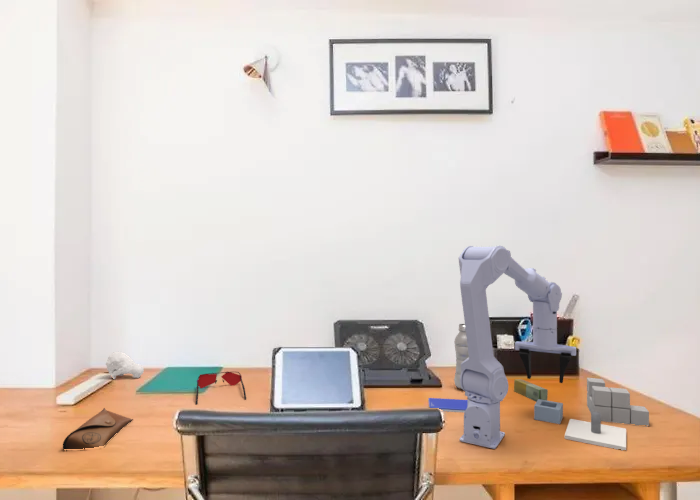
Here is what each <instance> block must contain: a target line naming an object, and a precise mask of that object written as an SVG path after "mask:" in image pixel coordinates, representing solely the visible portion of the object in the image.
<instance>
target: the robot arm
mask: <svg viewBox="0 0 700 500" xmlns="http://www.w3.org/2000/svg"><path fill="white" fill-rule="evenodd" d="M511 253H512V252H511V251H510V250H508V249H506V247H505V246H503V245H494V246H493V245H491V246H490V245H489V246H474V245H468V246H466V247H464V249H463V250H462V252H461V253H460V255H459V257H458V265H459V266H458V267H459V272H460V273H459V275H460V280H459V286H460V295H461V302H462V303H461V304H462V312H463V319H464V324H465V329H466V337H467V345H468V353H469V357H468V358H467V359H466V360H464V361H463V362H462V363H461V375H460V385H461V388H462V389H461V390H463V391H464V397H465V396H466V397H467V398H466V400H467V409H466V410H465V412H463V434H462V435H461V436H460V437H459V442H463V443H467V444H471V445H472V444H473V445H477V446H479V447H480V446H481V447H485V448H488V449H489V448H490V449H495V450H496V449H497V447H498V445H500V443H501V441H502V439H503V438H504V437H505V435H506V433H505V432H504V431H501V402H503V400H504V399H505V398H506V396H507V394H508V391H509V382H508V381H509V380H508V378H507V376H506V374H505V370H504V366H503V365H502V363H500V361H498V359H497V358H496V357H495V356H494V350H493V349H494V348H493V340H492V339H493V338H492V332H491V322H490V315H489V314H490V313H489V307H488V298H487V288H488V287H489V285H493V284H494V283H495V282H496V281H497V280H498V279H499V278H501V277H502V275H503V274H504V275H506V276H507V277H510V278H511V279H513V280H514V284H515V286H516V288H518V289H520V290H521V291H522V292H523V293H525V294H527V297H528V300H529V301H530V302H531V303H532V341H515V343H514V350H516V351H519V352H518V355H519V357H520V359H521V361H522V363H523V366H524V368H525V372H526V378H527V380H530V379H532V352H538V353H551V354H559V377H558V379H559V383H560V384H563V383H564V376H565V372H566V369H567V367H568V364H570V360H571V359H572V357H573V356H574V357H577V346H570V345H565V344H558V329H557V328H558V314H557V313H558V311H559V309H560V303H561V300H562V296H563V292H562V290H561V287H560V286H559V284H557V283H556V282H553V281H551V282H550V281H548V280H547V279H546V277H545V276H542V275H540V273H538V272H537V270H536V268H534V267H529V268H528V267H525V268H524V267H523V266H522V265H521V264H520V263H518V261H516V260H515V259H514V258H513V256H512V254H511Z"/></svg>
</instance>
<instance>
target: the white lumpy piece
mask: <svg viewBox="0 0 700 500" xmlns="http://www.w3.org/2000/svg"><path fill="white" fill-rule="evenodd" d="M105 365H106V369H107V371H108V375H109V374H110V375H112V377H113V379H114V380H116V377H117V376H118V377H122V376H124V375H128V374H131V375H132V376H131V377H132V379H139V378H140V377H141V375H143V374H144V370H145V368H144V366H143V365H141V364H139V363H136V362H135V361H134V359H132V358H131V356H129V355H127V353H125V352H122V351H115V352H112V353H111V354H110V355H109V356H108V357H107V361H106V363H105ZM110 375H109V376H110Z"/></svg>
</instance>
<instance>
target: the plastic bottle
mask: <svg viewBox="0 0 700 500" xmlns="http://www.w3.org/2000/svg"><path fill="white" fill-rule="evenodd" d="M458 331H459V333H457V334H456V336H455V337H454V349H455V351H454V352H455V362H456V363H455V374H454V379H453V381H454V385H455V386H456V388H457V389H461V390H463V389H462V388H461V385H460V375H461V363H462V362H463V361H464V360H466V359H467V358H468V357H469V353H468V345H467V337H466V329H465V323H459V325H458Z"/></svg>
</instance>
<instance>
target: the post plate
mask: <svg viewBox="0 0 700 500" xmlns="http://www.w3.org/2000/svg"><path fill="white" fill-rule="evenodd" d="M564 439H565V440H569V441H574V442H579V443H584V444H589V445H594V446H599V447H605V448H609V449H613V448H614V450H618V449H621V450H620V451H623V450H626V451H627V428H624V427H619V426H614V425H607V424H602V421H601V413H599V412H594V411H593V412H591V413H590V421H585V420H579V419H575V418H570V419H569V421H568V424H567V426H566V430H565V433H564Z"/></svg>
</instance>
